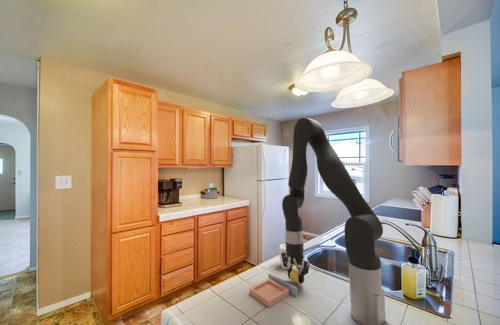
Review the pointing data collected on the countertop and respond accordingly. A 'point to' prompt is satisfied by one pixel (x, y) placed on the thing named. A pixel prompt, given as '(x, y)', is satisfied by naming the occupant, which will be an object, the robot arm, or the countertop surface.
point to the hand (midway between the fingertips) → (295, 280)
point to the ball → (294, 275)
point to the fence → (284, 284)
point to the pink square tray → (269, 292)
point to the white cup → (282, 249)
